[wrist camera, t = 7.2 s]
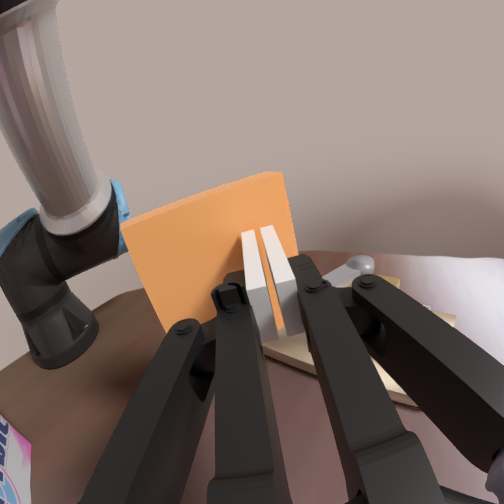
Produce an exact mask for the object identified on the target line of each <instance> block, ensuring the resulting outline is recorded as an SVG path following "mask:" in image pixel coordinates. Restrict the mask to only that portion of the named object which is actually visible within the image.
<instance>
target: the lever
mask: <svg viewBox="0 0 504 504" xmlns="http://www.w3.org/2000/svg"><path fill="white" fill-rule="evenodd" d="M270 225H273V227H274V230H275V232H276V234H277V237H278V239H279V241H280V244H281V246H282V248H283V251H284V253H285V255H286V258H289V257H293V256H297V255H298V250H297V245H296V239H295V233H294V228H293V223H292V218H291V213H290V208H289V203H288V198H287V193H286V188H285V183H284V179H283V174H282V172H268V171H266V172H262V173H259V174H256V175H252V176H249V177H246V178H243V179H240V180H236V181H233V182H231V183H227V184H224V185H221V186H218V187H216V188H212V189H209V190H206V191H203V192H201V193H198V194H195V195H192V196H189V197H187V198H184V199H181V200H178V201H175V202H173V203H170V204H167V205H165V206H163V207H160V208H157V209H154V210H152V211H149V212H147V213H144V214H142V215H139V216H137V217H134V218H132V219H129V220H127V221H124V222H122V223H120V230H121V233H122V235H123V238H124V240H125V243H126V246H127V248H128V251H129V253H130V255H131V258H132V260H133V263H134V265H135V267H136V270H137V272H138V274H139V277H140V279H141V281H142V283H143V286H144V288H145V290H146V292H147V295H148V297H149V299H150V301H151V303H152V305H153V307H154V309H155V311H156V313H157V315H158V318H159V320H160V322H161V324H162V326H163V327H164V329H165V331H166V333H167V332H168V331H169V329H170V328H171V327H172V325H174V324H175V323H176V322H178V321H180V320H183V319H188V318H192V319H196V320H198V321H199V323H200V324H202V323H205V322H207V321H209V320H211V319H213V318H214V317H216V316H217V310H216V308H215V305H214V302H213V300H212V297H211V292H212V290H213V289H214V288H215V287H216V286H218V285H220V284H222V283H223V279H224V277H225V276H226V274H227V273H230V272H235V271H239V270H243V269H244V259H243V247H242V236H241V232H245V231H249V230H253V229H254V232H255V236H256V240H257V244H258V248H259V252H260V256H261V260H262V265H263V269H264V273H265V277H266V282H267V286H268V291H269V295H270V300H271V304H272V309H273V313H274V318H275V322H276V327H277V330H279V329H281V328H283V327H284V326H285V325H284V321H283V317H282V314H281V310H280V306H279V302H278V298H277V295H276V291H275V287H274V283H273V280H272V276H271V272H270V268H269V264H268V260H267V256H266V251H265V247H264V243H263V239H262V235H261V230H260V228H262V227H266V226H270ZM373 273H374V260H373V259H372V258H371V257H369V256H365V255H359V256H354V257H351V258H349V259H348V260H347V261H346V264H344V265H342V266H341V267H339V268H337V269H335V270H334V271H332V272H330V273H328V274H326V275H325V276H323V277H322V278H323V279H325V280H328V281H329V282H330V283H331V284H332V286H333V287H346V286H348V285H350V284H351V283H352V281H353V280H354V279H355V278H356V277H358V276H361V275H364V274H373Z"/></svg>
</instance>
